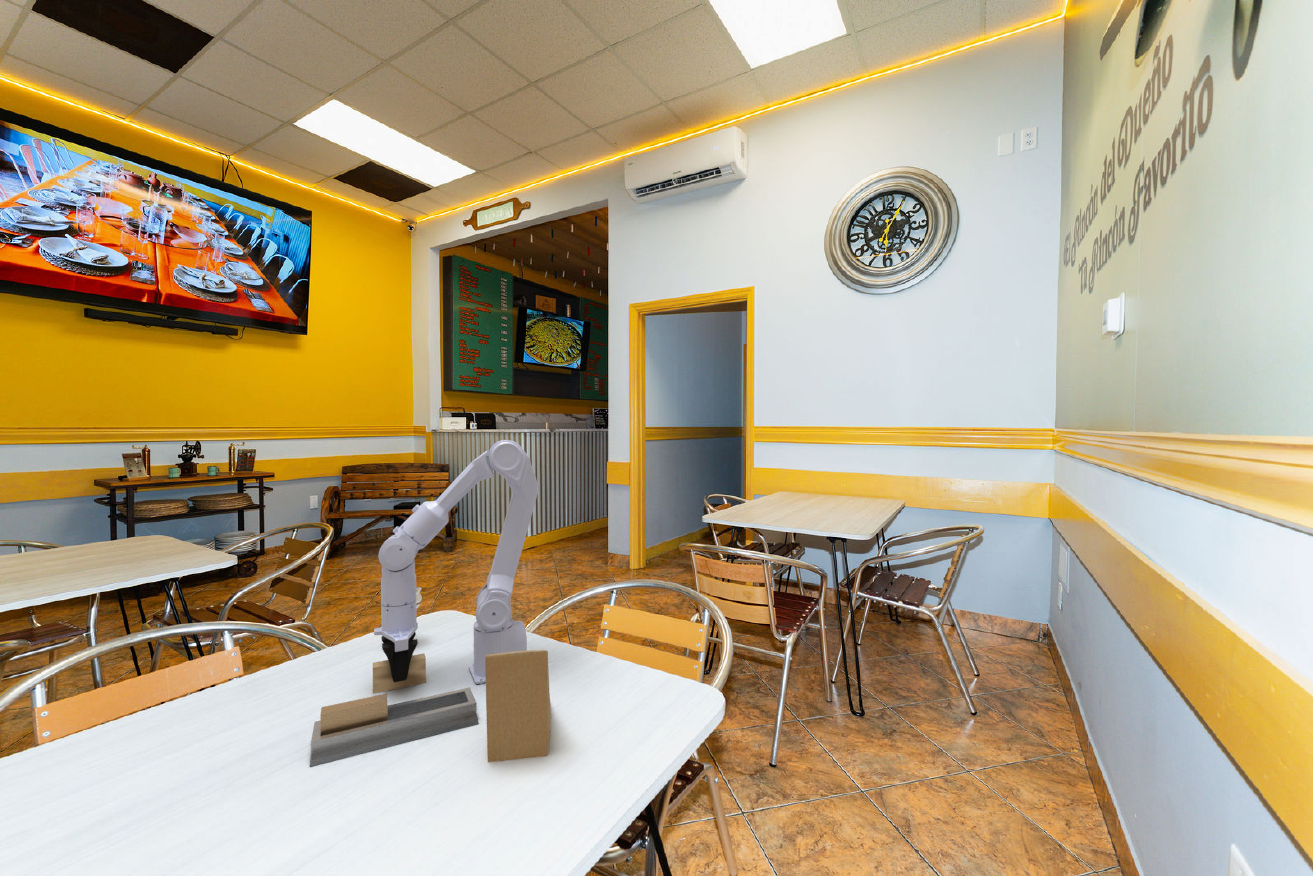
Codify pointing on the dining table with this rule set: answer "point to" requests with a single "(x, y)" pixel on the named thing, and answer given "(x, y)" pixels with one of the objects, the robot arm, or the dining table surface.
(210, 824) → the dining table surface
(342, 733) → the track
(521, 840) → the dining table surface
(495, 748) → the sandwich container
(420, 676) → the tan rectangular block
